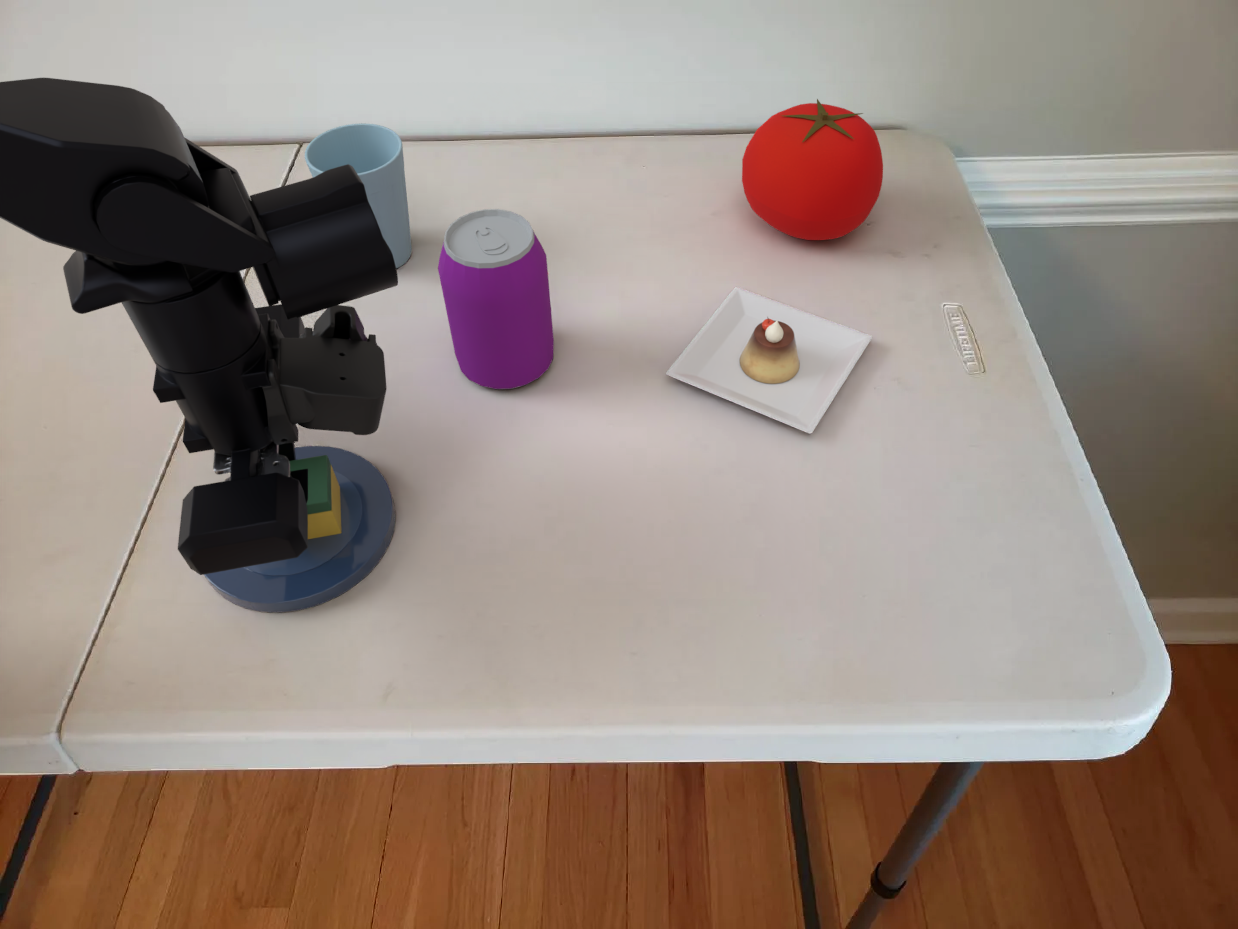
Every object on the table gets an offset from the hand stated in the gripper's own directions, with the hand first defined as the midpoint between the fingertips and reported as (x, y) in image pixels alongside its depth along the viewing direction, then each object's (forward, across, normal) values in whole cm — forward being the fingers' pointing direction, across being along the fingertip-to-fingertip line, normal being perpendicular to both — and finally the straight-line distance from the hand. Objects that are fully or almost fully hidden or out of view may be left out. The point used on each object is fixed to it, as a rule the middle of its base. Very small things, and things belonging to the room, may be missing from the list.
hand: (290, 512), depth 61 cm
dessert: (+2, +8, -36) cm, 37 cm away
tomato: (+2, +25, -45) cm, 52 cm away
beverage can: (+2, +13, -16) cm, 21 cm away
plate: (+2, 0, 0) cm, 2 cm away
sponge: (+1, 0, 0) cm, 1 cm away
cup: (+2, +29, -7) cm, 30 cm away
